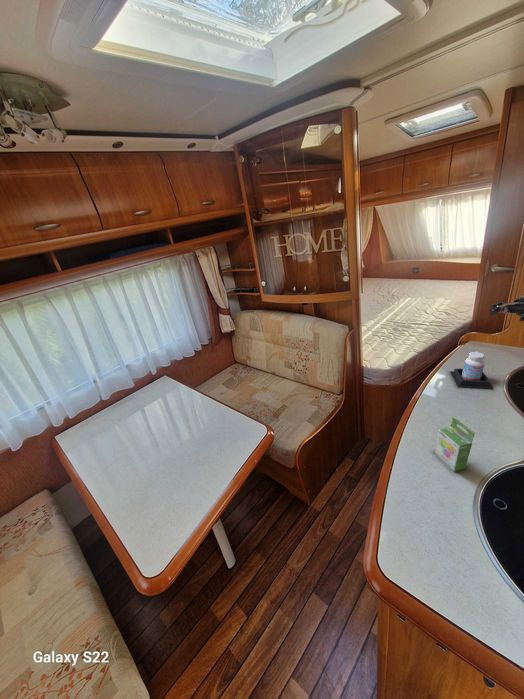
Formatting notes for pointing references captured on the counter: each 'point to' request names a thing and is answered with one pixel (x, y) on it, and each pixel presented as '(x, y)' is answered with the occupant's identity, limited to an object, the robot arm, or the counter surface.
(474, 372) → the pill bottle
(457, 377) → the socket pad
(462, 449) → the ink box
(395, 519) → the counter surface
